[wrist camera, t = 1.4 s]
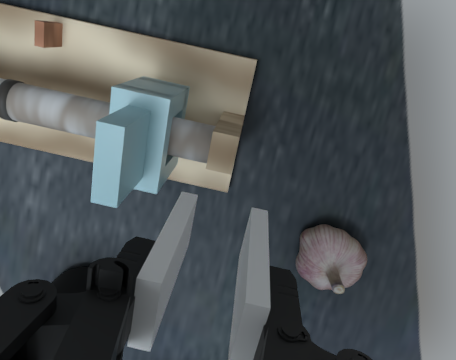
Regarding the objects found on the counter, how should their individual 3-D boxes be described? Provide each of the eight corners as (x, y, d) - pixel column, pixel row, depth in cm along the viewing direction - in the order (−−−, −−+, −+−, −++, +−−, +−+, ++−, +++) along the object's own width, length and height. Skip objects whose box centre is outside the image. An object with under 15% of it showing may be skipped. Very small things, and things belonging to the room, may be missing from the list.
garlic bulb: (291, 219, 40) (298, 261, 32) (361, 213, 39) (385, 255, 31) (295, 278, 42) (303, 329, 35) (362, 274, 41) (384, 326, 34)
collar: (177, 163, 33) (134, 226, 22) (134, 154, 33) (70, 212, 22) (189, 86, 31) (148, 114, 20) (143, 76, 31) (75, 97, 20)
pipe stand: (228, 186, 39) (218, 231, 30) (-12, 132, 39) (-94, 161, 30) (257, 59, 34) (255, 67, 25) (-18, -2, 34) (-117, -15, 25)
